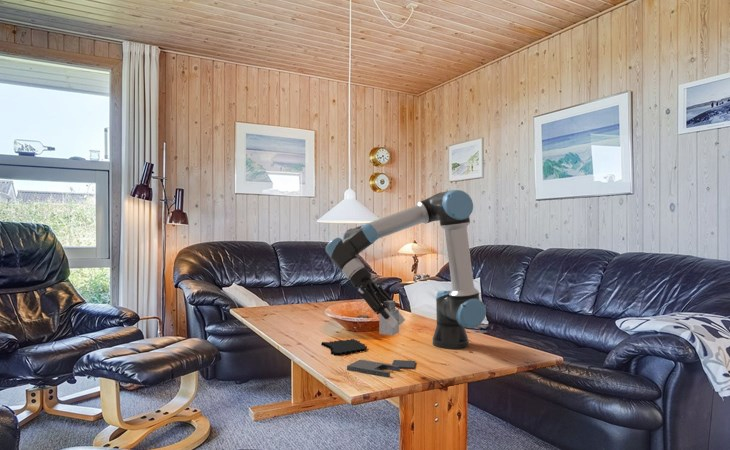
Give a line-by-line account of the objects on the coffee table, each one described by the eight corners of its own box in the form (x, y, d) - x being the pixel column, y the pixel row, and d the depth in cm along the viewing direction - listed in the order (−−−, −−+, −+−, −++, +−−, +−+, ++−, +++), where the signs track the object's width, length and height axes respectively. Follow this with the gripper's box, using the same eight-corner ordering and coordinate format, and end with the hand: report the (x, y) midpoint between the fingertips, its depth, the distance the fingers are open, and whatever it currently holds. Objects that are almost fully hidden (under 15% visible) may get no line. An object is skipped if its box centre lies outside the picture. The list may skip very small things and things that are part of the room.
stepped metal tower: (379, 333, 155) (379, 301, 155) (386, 330, 160) (385, 299, 160) (392, 335, 153) (392, 302, 153) (398, 332, 157) (398, 300, 157)
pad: (415, 362, 166) (415, 360, 166) (413, 369, 158) (413, 367, 158) (393, 361, 167) (393, 359, 167) (391, 367, 159) (391, 366, 159)
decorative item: (327, 337, 200) (371, 339, 196) (327, 341, 200) (371, 343, 196) (311, 351, 178) (360, 353, 174) (311, 355, 178) (360, 358, 174)
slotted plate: (347, 369, 157) (347, 365, 157) (360, 363, 165) (360, 359, 165) (388, 377, 149) (388, 372, 149) (399, 369, 157) (399, 365, 157)
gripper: (363, 278, 172) (403, 325, 163) (337, 283, 156) (380, 336, 148) (375, 264, 169) (416, 312, 161) (350, 268, 154) (394, 321, 145)
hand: (398, 323), depth 154 cm, fingers closed on stepped metal tower, 5 cm apart
